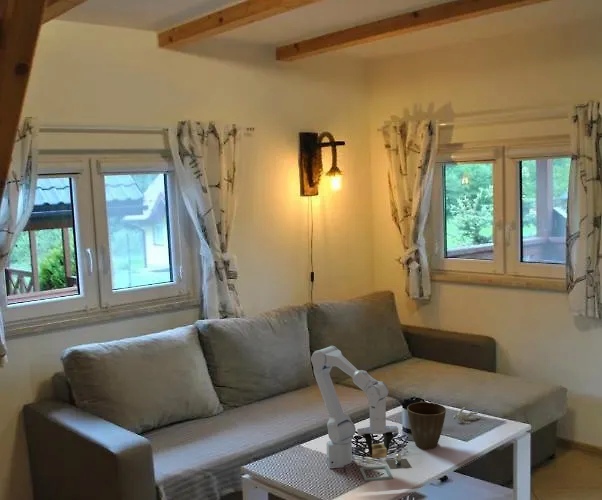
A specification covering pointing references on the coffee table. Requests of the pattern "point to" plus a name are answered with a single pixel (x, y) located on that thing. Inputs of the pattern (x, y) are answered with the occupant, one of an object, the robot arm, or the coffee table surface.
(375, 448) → the collar
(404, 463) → the stake
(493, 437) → the coffee table surface
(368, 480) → the green square frame
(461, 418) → the soldier figure
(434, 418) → the plant pot
